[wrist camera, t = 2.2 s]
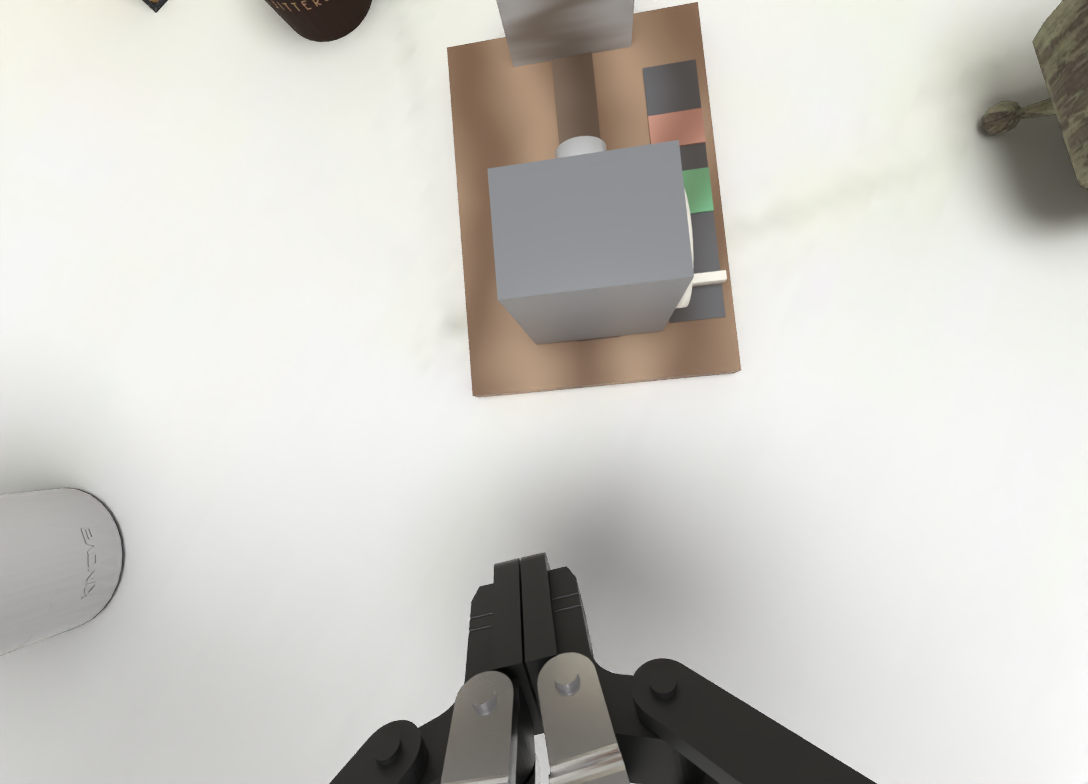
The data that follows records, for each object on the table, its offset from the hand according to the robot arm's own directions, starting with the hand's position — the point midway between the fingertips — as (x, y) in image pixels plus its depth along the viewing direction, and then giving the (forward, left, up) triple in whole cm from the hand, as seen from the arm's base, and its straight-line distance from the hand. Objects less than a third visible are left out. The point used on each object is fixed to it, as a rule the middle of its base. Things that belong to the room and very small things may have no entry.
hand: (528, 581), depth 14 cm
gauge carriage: (+4, +13, -13) cm, 19 cm away
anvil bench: (+3, +17, -15) cm, 23 cm away
